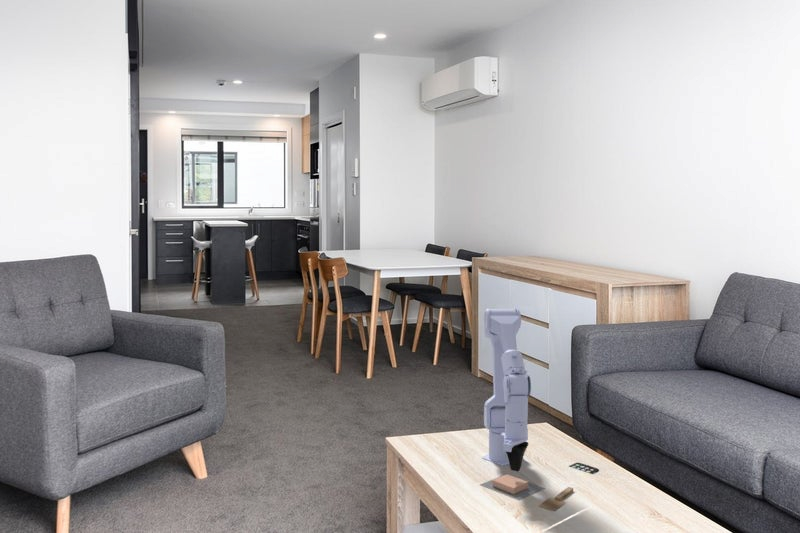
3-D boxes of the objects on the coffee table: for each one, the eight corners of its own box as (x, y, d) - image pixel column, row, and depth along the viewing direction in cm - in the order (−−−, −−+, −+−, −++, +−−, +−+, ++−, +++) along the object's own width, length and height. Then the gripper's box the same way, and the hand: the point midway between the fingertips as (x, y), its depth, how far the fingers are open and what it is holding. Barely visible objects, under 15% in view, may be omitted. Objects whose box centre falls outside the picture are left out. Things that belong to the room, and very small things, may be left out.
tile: (507, 474, 190) (492, 480, 186) (528, 481, 185) (513, 488, 181) (507, 480, 190) (492, 486, 186) (528, 488, 185) (513, 494, 181)
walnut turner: (562, 489, 186) (562, 485, 186) (578, 494, 183) (578, 489, 183) (538, 508, 175) (538, 503, 174) (554, 513, 172) (554, 508, 172)
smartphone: (546, 476, 194) (577, 461, 204) (546, 478, 194) (577, 464, 204) (569, 484, 189) (600, 469, 199) (569, 486, 189) (600, 471, 199)
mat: (506, 475, 195) (506, 473, 195) (545, 489, 185) (545, 488, 185) (479, 486, 188) (479, 484, 188) (518, 501, 178) (518, 500, 178)
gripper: (510, 410, 194) (509, 458, 195) (492, 424, 181) (491, 476, 182) (535, 413, 191) (534, 462, 192) (519, 429, 178) (517, 481, 179)
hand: (515, 469), depth 187 cm, fingers closed
